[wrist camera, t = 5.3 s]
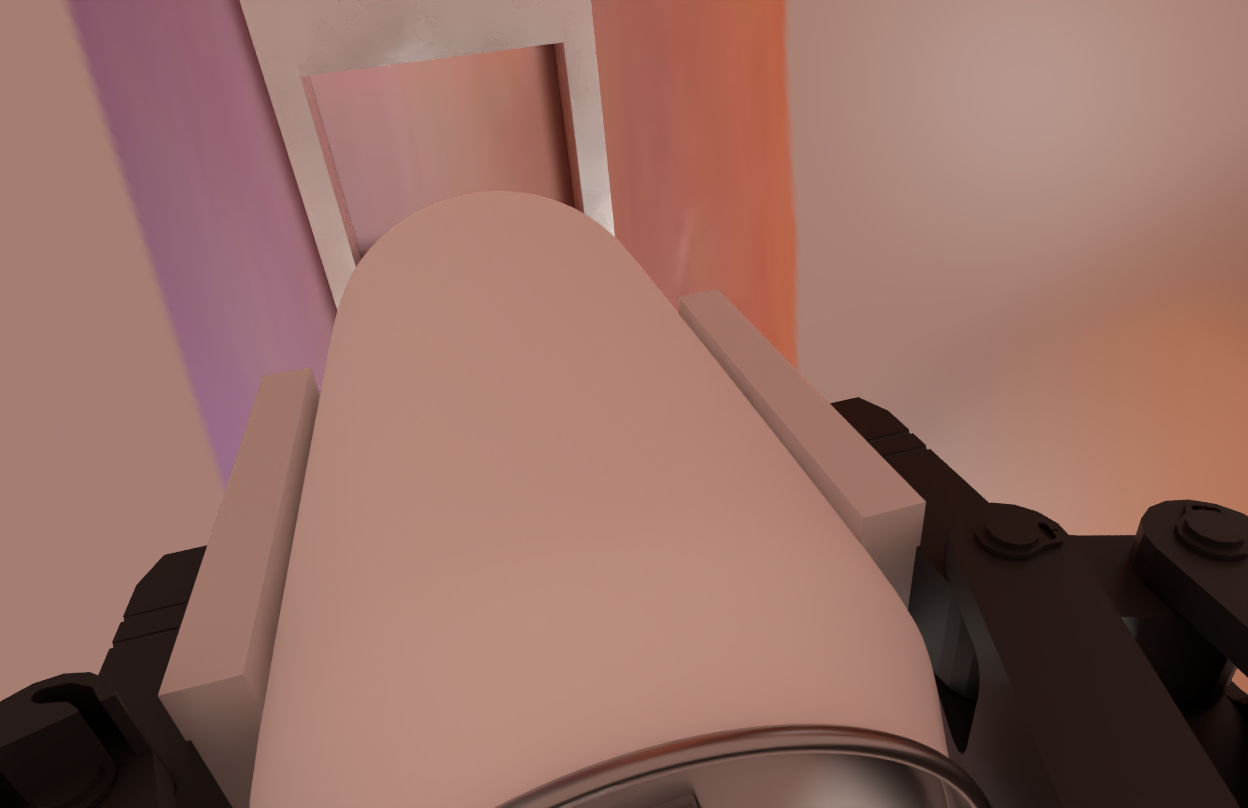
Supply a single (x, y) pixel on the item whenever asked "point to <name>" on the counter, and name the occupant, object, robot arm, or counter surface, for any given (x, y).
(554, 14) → the holder
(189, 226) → the counter surface
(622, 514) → the can
